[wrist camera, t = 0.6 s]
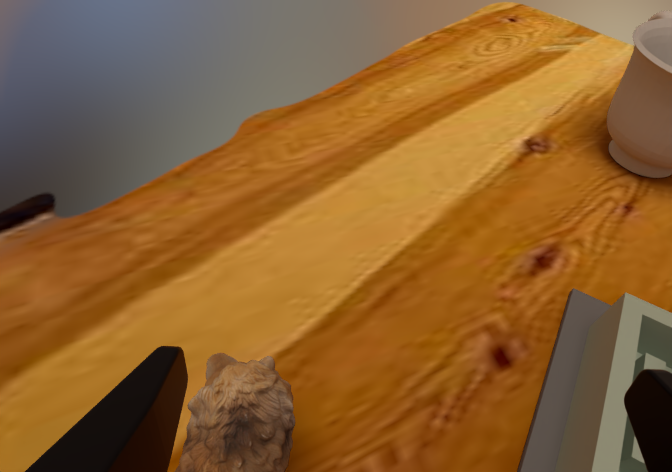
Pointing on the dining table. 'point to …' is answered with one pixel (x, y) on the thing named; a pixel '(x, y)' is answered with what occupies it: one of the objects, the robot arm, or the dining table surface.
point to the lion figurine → (239, 419)
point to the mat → (560, 383)
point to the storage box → (613, 386)
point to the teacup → (645, 103)
